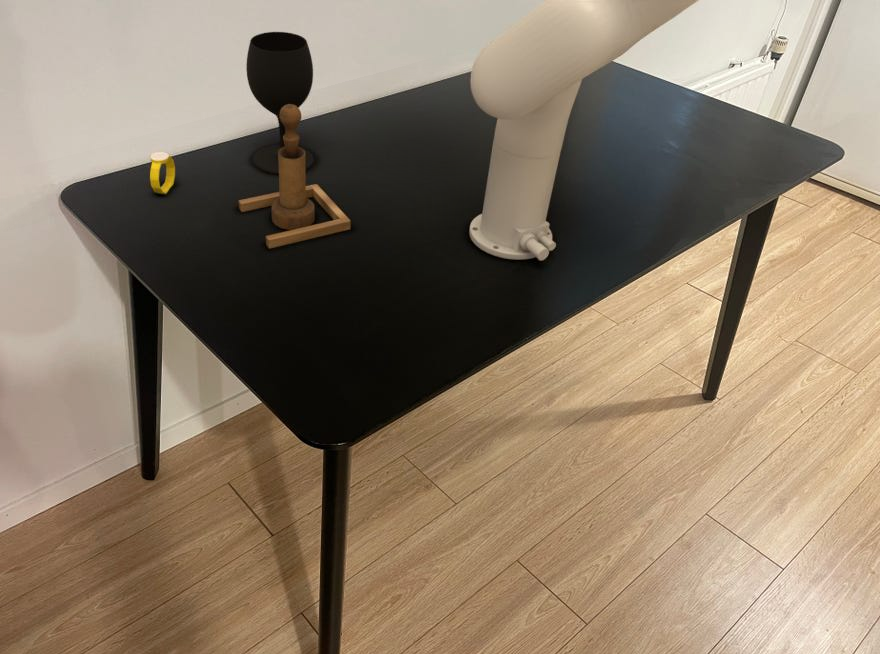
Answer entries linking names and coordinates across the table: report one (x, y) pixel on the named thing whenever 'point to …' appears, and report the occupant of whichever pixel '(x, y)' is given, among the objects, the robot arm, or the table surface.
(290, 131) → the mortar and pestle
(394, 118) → the table surface
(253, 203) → the frame
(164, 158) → the watch
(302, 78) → the wine glass
